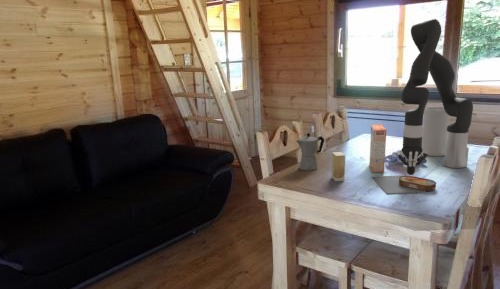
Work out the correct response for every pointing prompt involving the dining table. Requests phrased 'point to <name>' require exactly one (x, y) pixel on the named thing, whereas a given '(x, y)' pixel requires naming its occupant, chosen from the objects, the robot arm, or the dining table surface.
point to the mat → (394, 185)
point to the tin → (417, 183)
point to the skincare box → (338, 166)
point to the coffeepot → (309, 151)
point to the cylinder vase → (434, 131)
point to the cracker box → (377, 148)
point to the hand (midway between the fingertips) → (410, 174)
